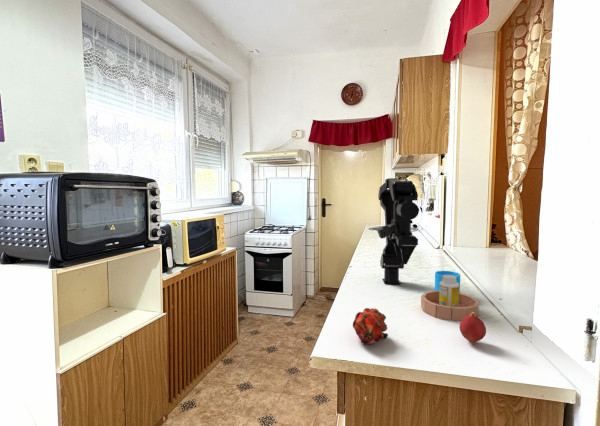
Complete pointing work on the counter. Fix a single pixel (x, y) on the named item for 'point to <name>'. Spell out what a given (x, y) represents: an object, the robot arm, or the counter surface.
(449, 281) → the supplement bottle
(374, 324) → the dragon fruit
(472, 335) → the onion
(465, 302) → the bowl
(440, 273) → the mug
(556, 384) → the counter surface
